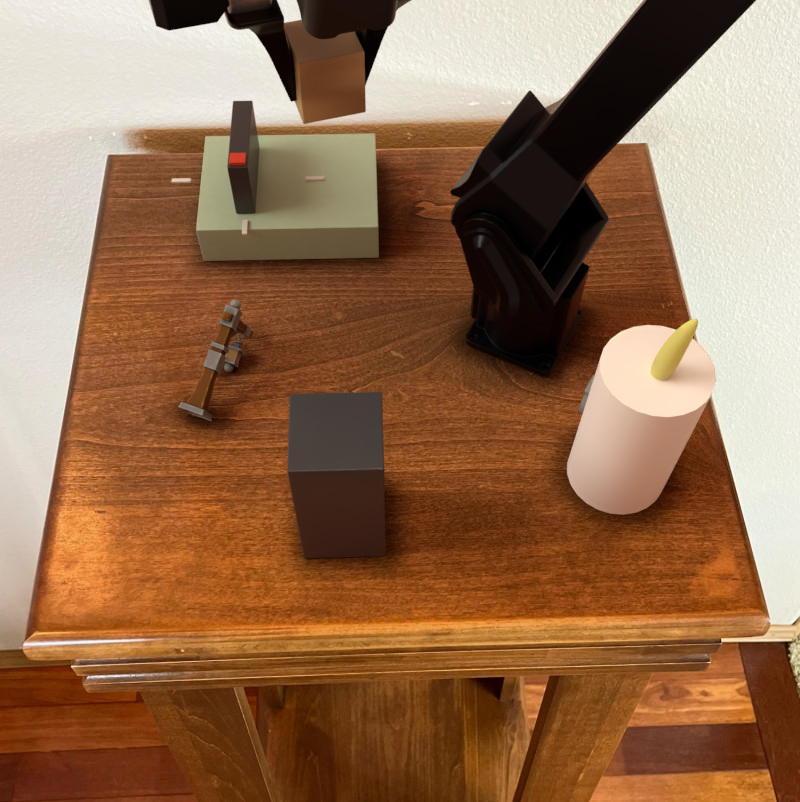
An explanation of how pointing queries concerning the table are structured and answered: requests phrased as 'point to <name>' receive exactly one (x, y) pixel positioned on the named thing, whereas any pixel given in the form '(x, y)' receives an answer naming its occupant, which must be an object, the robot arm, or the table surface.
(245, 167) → the dark grey panel
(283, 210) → the base
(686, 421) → the candle
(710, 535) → the table surface
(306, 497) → the stand
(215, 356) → the wooden lantern post
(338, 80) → the block
